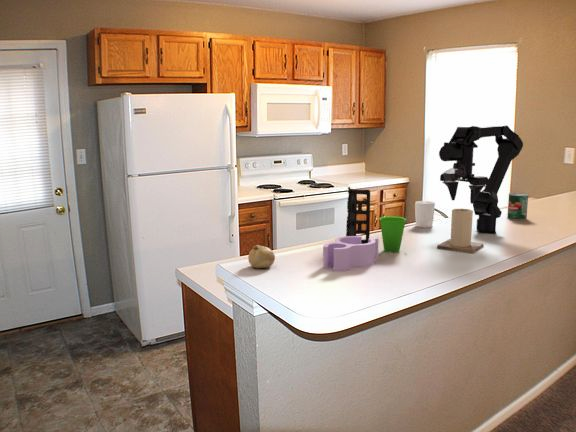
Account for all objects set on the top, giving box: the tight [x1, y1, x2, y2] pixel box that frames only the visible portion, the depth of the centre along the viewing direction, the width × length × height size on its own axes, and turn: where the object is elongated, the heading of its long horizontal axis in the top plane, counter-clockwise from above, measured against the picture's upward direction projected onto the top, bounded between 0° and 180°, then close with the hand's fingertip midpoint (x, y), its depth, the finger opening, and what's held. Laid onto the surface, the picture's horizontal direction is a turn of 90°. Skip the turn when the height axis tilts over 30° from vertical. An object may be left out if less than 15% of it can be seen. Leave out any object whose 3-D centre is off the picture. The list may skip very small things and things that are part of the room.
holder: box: [345, 186, 371, 244], centre depth 181 cm, size 11×8×20 cm
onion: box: [247, 244, 276, 269], centre depth 154 cm, size 8×8×7 cm
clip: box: [322, 234, 379, 272], centre depth 158 cm, size 20×12×7 cm, turn 136°
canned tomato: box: [507, 192, 529, 221], centre depth 226 cm, size 8×8×11 cm
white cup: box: [414, 200, 436, 228], centre depth 212 cm, size 8×8×10 cm
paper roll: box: [450, 208, 474, 247], centre depth 176 cm, size 6×6×12 cm
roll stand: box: [436, 238, 485, 254], centre depth 176 cm, size 12×12×6 cm
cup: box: [378, 215, 407, 253], centre depth 172 cm, size 9×9×11 cm
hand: (462, 201), depth 192 cm, fingers open, 9 cm apart
